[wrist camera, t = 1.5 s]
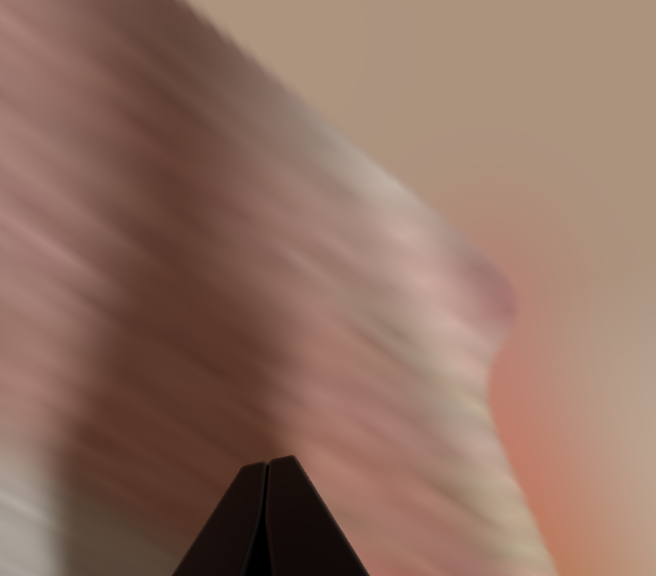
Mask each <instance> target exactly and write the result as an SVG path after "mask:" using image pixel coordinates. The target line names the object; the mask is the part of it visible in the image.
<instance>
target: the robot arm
mask: <svg viewBox="0 0 656 576" xmlns="http://www.w3.org/2000/svg"><path fill="white" fill-rule="evenodd" d="M172 576H370V575H369V573H368V572H367V570H366V569H365V567H364V565H363V564H362V562H361V561H360V559H359V557H358V556H357V554H356V553H355V551H354V549H353V548H352V546H351V545H350V543H349V541H348V540H347V538H346V537H345V535H344V533H343V532H342V530H341V528H340V527H339V525H338V524H337V522H336V520H335V519H334V517H333V516H332V514H331V512H330V511H329V509H328V508H327V506H326V504H325V503H324V501H323V500H322V498H321V496H320V495H319V493H318V492H317V490H316V488H315V487H314V485H313V484H312V482H311V480H310V479H309V477H308V476H307V474H306V472H305V471H304V469H303V468H302V466H301V464H300V463H299V461H298V460H297V458H296V457H295V456H293V455H289V456H285V457H280V458H276V459H272V460H271V461H270V463H268V462H266V461H262V462H258V463H253V464H249V465H245V466H243V467H242V468H241V469H240V471H239V472H238V474H237V475H236V477H235V478H234V480H233V482H232V483H231V485H230V486H229V488H228V489H227V491H226V492H225V494H224V496H223V497H222V499H221V500H220V502H219V503H218V505H217V506H216V508H215V510H214V511H213V513H212V514H211V516H210V517H209V519H208V520H207V522H206V523H205V525H204V527H203V528H202V530H201V531H200V533H199V534H198V536H197V537H196V539H195V541H194V542H193V544H192V545H191V547H190V548H189V550H188V551H187V553H186V555H185V556H184V558H183V559H182V561H181V562H180V564H179V565H178V567H177V568H176V570H175V572H174V573H173V575H172Z"/></svg>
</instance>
